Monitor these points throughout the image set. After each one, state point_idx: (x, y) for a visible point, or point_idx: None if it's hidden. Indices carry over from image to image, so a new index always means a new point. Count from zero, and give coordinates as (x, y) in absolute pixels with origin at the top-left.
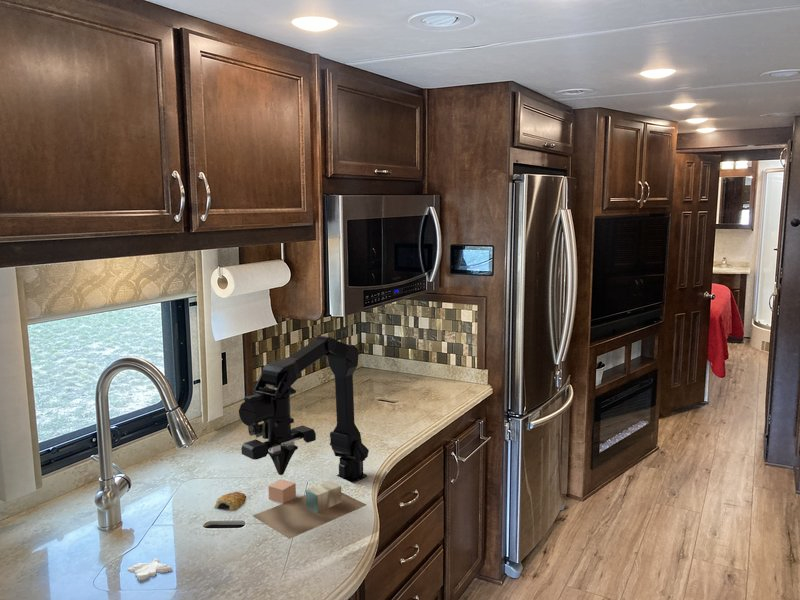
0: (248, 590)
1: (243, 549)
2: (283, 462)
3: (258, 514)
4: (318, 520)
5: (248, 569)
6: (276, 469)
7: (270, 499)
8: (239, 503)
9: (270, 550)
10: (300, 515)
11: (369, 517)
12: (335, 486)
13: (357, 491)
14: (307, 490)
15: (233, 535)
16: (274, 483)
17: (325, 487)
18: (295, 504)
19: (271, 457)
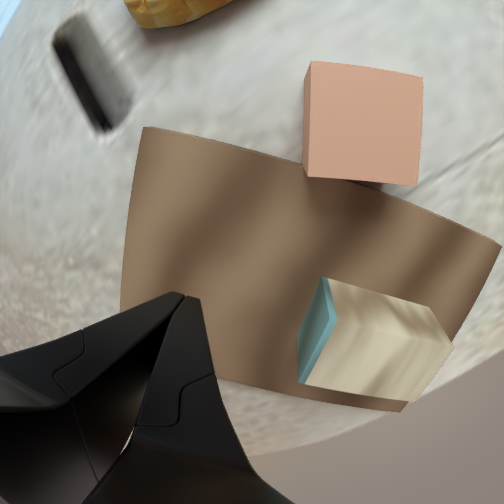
0: (5, 341)
1: (38, 244)
2: (118, 448)
3: (162, 141)
4: (251, 364)
5: (19, 308)
6: (141, 306)
7: (305, 85)
8: (179, 11)
9: (76, 309)
10: (247, 299)
11: (354, 424)
12: (406, 391)
13: (495, 325)
14: (330, 328)
15: (56, 158)
16: (357, 73)
17: (388, 370)
18: (320, 223)
19: (20, 364)
